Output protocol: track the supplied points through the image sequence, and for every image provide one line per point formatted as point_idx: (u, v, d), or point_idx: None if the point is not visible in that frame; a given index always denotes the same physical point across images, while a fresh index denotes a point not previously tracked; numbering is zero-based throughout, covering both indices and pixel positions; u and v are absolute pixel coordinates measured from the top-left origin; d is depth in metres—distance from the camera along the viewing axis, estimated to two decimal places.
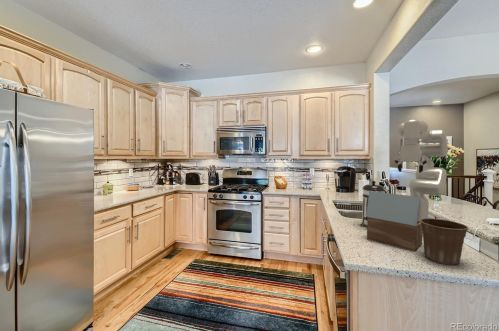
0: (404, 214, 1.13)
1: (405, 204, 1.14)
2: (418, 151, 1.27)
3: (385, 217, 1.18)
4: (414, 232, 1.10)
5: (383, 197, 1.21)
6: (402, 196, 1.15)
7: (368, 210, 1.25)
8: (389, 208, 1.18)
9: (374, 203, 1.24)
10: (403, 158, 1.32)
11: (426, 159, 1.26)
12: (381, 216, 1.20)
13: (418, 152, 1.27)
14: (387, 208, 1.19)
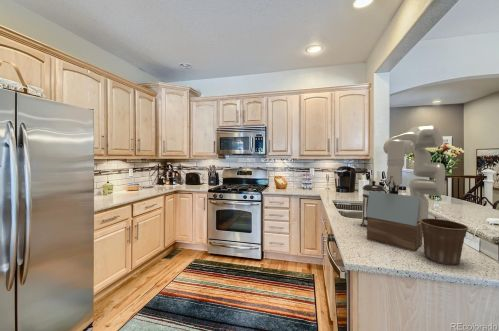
0: (404, 214, 1.13)
1: (405, 204, 1.14)
2: None
3: (385, 217, 1.18)
4: (414, 232, 1.10)
5: (383, 197, 1.21)
6: (402, 196, 1.15)
7: (368, 210, 1.25)
8: (389, 208, 1.18)
9: (374, 203, 1.24)
10: (397, 182, 1.17)
11: None
12: (381, 216, 1.20)
13: None
14: (387, 208, 1.19)
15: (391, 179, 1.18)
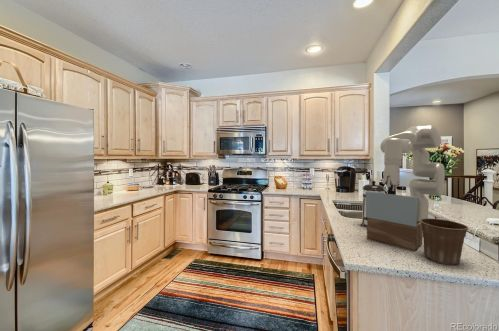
0: (403, 215, 1.12)
1: (403, 205, 1.12)
2: (399, 173, 1.19)
3: (385, 218, 1.18)
4: (414, 232, 1.10)
5: (380, 198, 1.19)
6: (399, 197, 1.12)
7: (367, 211, 1.24)
8: (387, 209, 1.17)
9: (372, 204, 1.22)
10: (394, 181, 1.14)
11: (395, 185, 1.20)
12: (380, 217, 1.20)
13: (399, 174, 1.19)
14: (386, 209, 1.17)
15: (388, 179, 1.15)
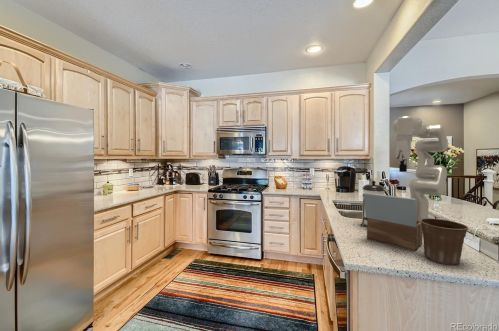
0: (403, 216, 1.11)
1: (402, 207, 1.10)
2: None
3: (385, 218, 1.18)
4: (414, 232, 1.10)
5: (379, 199, 1.17)
6: (397, 199, 1.11)
7: (367, 212, 1.24)
8: (386, 210, 1.16)
9: (371, 205, 1.21)
10: (406, 155, 1.26)
11: None
12: (380, 218, 1.20)
13: None
14: (385, 210, 1.17)
15: (400, 153, 1.26)
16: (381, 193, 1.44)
